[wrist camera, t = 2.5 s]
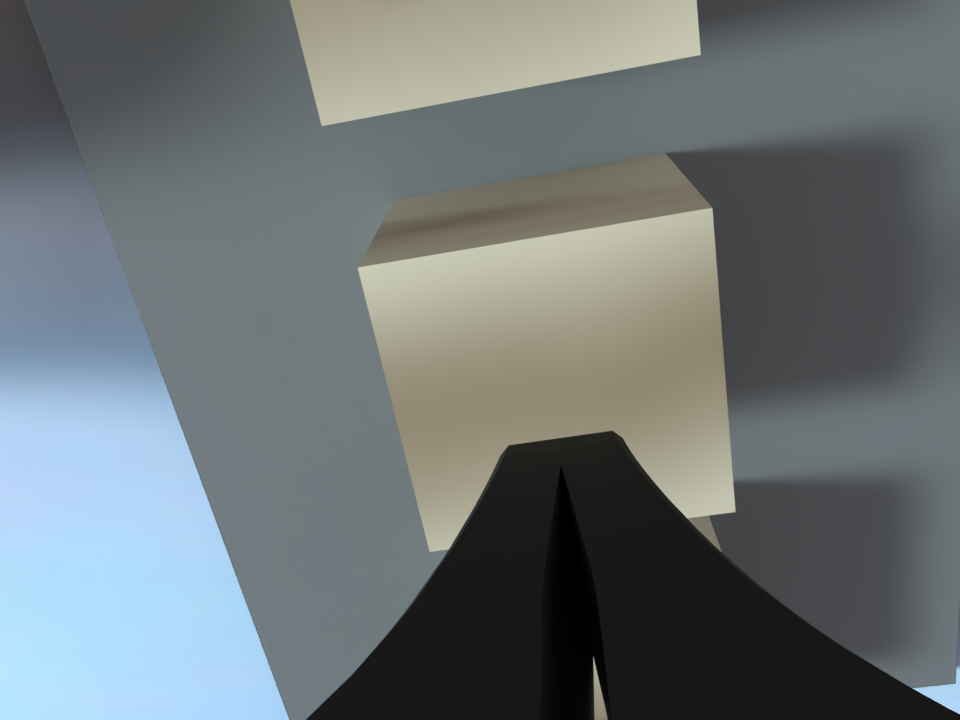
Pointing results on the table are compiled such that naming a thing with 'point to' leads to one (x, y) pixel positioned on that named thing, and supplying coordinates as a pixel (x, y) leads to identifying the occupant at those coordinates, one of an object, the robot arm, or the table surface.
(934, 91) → the mat
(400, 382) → the plain block
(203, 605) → the table surface
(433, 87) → the block numbered 7
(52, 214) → the table surface
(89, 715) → the table surface
